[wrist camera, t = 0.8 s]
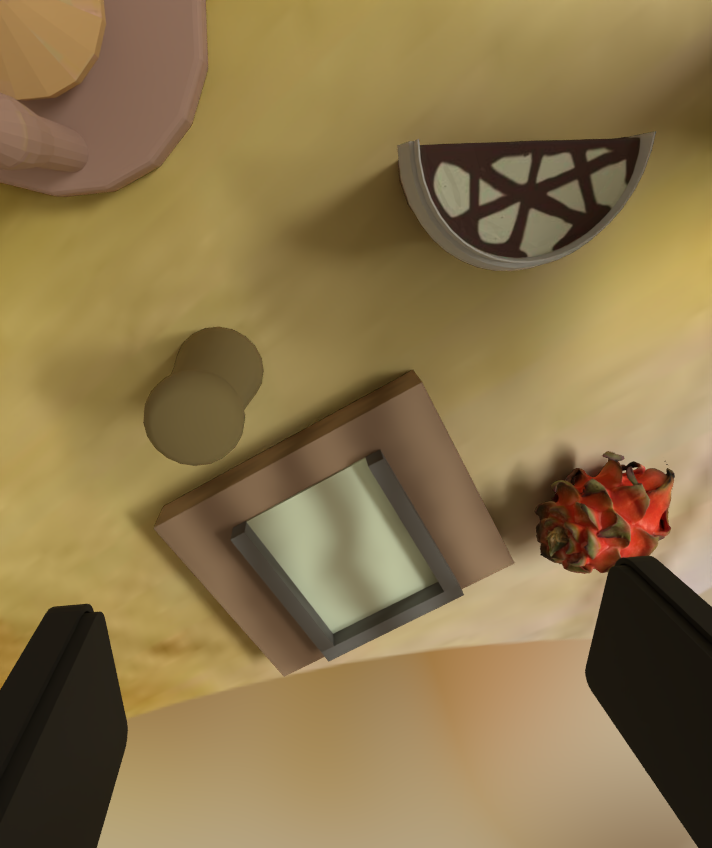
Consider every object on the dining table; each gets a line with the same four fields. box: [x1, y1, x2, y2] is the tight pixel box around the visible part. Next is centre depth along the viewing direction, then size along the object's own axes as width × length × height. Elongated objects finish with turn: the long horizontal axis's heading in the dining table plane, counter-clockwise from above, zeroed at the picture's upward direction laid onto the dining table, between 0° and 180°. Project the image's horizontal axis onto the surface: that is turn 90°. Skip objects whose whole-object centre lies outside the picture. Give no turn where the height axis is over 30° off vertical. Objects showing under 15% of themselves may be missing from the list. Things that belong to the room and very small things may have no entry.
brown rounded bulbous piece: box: [143, 327, 264, 466], centre depth 31 cm, size 6×6×11 cm
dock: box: [153, 370, 514, 676], centre depth 40 cm, size 22×18×4 cm
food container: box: [397, 131, 656, 271], centre depth 29 cm, size 12×6×10 cm, turn 92°
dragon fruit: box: [535, 451, 675, 574], centre depth 40 cm, size 8×8×12 cm
